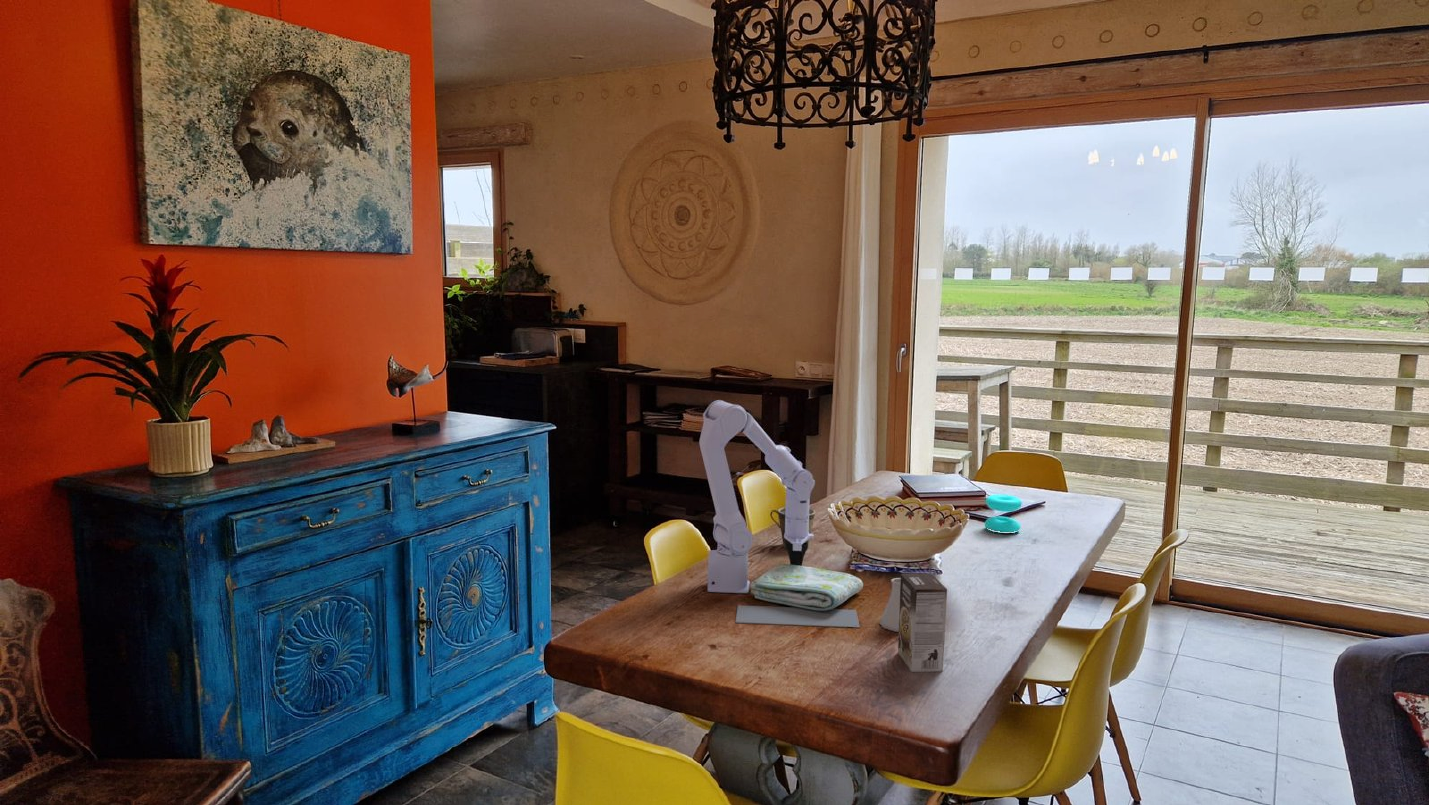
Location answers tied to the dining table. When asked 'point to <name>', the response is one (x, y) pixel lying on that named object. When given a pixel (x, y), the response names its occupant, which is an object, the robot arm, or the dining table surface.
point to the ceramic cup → (782, 521)
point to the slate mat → (796, 616)
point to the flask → (892, 608)
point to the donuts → (1006, 505)
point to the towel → (805, 587)
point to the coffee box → (922, 622)
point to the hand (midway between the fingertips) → (795, 571)
